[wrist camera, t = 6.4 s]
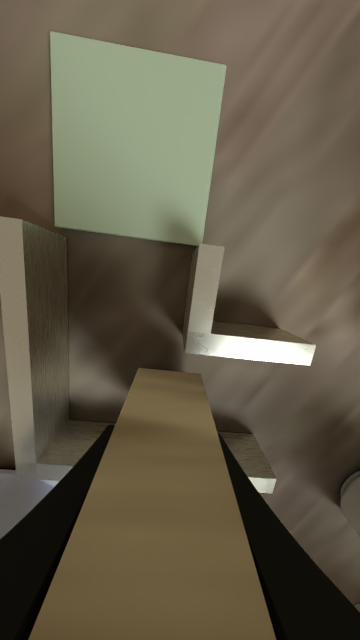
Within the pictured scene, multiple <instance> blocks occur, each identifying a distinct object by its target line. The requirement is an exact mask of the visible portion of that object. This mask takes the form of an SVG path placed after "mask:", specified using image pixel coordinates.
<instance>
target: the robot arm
mask: <svg viewBox="0 0 360 640" xmlns="http://www.w3.org/2000/svg"><path fill="white" fill-rule="evenodd" d="M114 427H115V425H110V424H109V425H108V426H107V427H106V428H105V429H104V431H103V432H102V433H101V434H100V436H99V437H98V438H97V439H96V441H95V442H94V443H93V444H92V446H91V447H90V448H89V449H88V450H87V452H86V453H85V454H84V455H83V456H82V457H81V458H80V459H79V461H78V462H77V463H76V464H75V465H74V466H73V467H72V469H71V470H70V471H69V472H68V473H67V474H66V475H65V476H64V477H63V478H62V479H61V480H60V481H53V480H36V479H18V478H17V477H16V470H6V469H0V640H28V639H29V637H30V634H31V632H32V629H33V627H34V625H35V622H36V620H37V617H38V615H39V612H40V610H41V607H42V605H43V602H44V600H45V597H46V595H47V592H48V590H49V587H50V585H51V583H52V580H53V578H54V575H55V573H56V570H57V568H58V565H59V563H60V560H61V558H62V555H63V553H64V550H65V548H66V546H67V543H68V541H69V538H70V536H71V533H72V531H73V528H74V526H75V523H76V521H77V518H78V516H79V513H80V511H81V509H82V506H83V504H84V501H85V499H86V496H87V494H88V491H89V489H90V486H91V484H92V481H93V479H94V476H95V474H96V471H97V469H98V467H99V464H100V462H101V459H102V457H103V454H104V452H105V449H106V447H107V444H108V442H109V439H110V437H111V434H112V432H113V430H114ZM217 434H218V437H219V441H220V444H221V448H222V451H223V455H224V458H225V462H226V465H227V469H228V472H229V476H230V479H231V483H232V486H233V490H234V493H235V497H236V500H237V504H238V507H239V511H240V514H241V518H242V521H243V525H244V528H245V532H246V536H247V539H248V543H249V546H250V550H251V553H252V557H253V560H254V564H255V567H256V571H257V574H258V578H259V581H260V585H261V588H262V592H263V595H264V599H265V602H266V606H267V609H268V613H269V616H270V620H271V623H272V627H273V630H274V634H275V637H276V640H360V612H359V611H358V610H357V609H356V608H355V607H354V606H353V605H352V603H351V602H350V601H349V600H348V599H347V598H346V597H345V596H344V595H343V594H342V592H341V591H340V590H339V589H338V588H337V587H336V586H335V585H334V584H333V583H332V581H331V580H330V579H329V578H328V577H327V576H326V575H325V574H324V573H323V572H322V570H321V569H320V568H319V567H318V566H317V565H316V564H315V563H314V561H313V560H312V559H311V558H310V557H309V556H308V554H307V553H306V552H305V551H304V550H303V549H302V547H301V546H300V545H299V544H298V543H297V541H296V540H295V539H294V538H293V536H292V535H291V534H290V533H289V532H288V530H287V529H286V528H285V527H284V525H283V524H282V523H281V522H280V520H279V519H278V518H277V516H276V515H275V514H274V512H273V511H272V510H271V509H270V507H269V506H268V504H267V503H266V502H265V500H264V499H263V498H262V496H261V495H260V494H259V492H258V491H257V489H256V488H255V487H254V485H253V484H252V482H251V481H250V479H249V478H248V476H247V475H246V473H245V472H244V471H243V469H242V468H241V466H240V464H239V463H238V461H237V460H236V458H235V457H234V455H233V454H232V452H231V450H230V449H229V447H228V446H227V444H226V442H225V441H224V439H223V437H222V436H221V434H220V433H217Z"/></svg>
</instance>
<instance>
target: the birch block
mask: <svg viewBox="0 0 360 640" xmlns="http://www.w3.org/2000/svg"><path fill="white" fill-rule="evenodd" d="M28 640H276V637H275V634H274V630H273V627H272V623H271V620H270V616H269V613H268V609H267V606H266V602H265V599H264V595H263V592H262V588H261V585H260V581H259V578H258V574H257V571H256V567H255V564H254V560H253V557H252V553H251V550H250V546H249V543H248V539H247V536H246V532H245V528H244V525H243V521H242V518H241V514H240V511H239V507H238V504H237V500H236V497H235V493H234V490H233V486H232V483H231V479H230V476H229V472H228V469H227V465H226V462H225V458H224V455H223V451H222V448H221V444H220V441H219V437H218V434H217V430H216V427H215V423H214V420H213V416H212V413H211V409H210V406H209V402H208V399H207V395H206V391H205V388H204V384H203V381H202V377H201V374H196V373H186V372H176V371H166V370H156V369H145V368H138V370H137V373H136V375H135V378H134V380H133V383H132V385H131V388H130V390H129V393H128V395H127V397H126V400H125V402H124V405H123V407H122V410H121V412H120V415H119V417H118V420H117V422H116V425H115V427H114V430H113V432H112V434H111V437H110V439H109V442H108V444H107V447H106V449H105V452H104V454H103V457H102V459H101V462H100V464H99V467H98V469H97V471H96V474H95V476H94V479H93V481H92V484H91V486H90V489H89V491H88V494H87V496H86V499H85V501H84V504H83V506H82V509H81V511H80V513H79V516H78V518H77V521H76V523H75V526H74V528H73V531H72V533H71V536H70V538H69V541H68V543H67V546H66V548H65V550H64V553H63V555H62V558H61V560H60V563H59V565H58V568H57V570H56V573H55V575H54V578H53V580H52V583H51V585H50V587H49V590H48V592H47V595H46V597H45V600H44V602H43V605H42V607H41V610H40V612H39V615H38V617H37V620H36V622H35V625H34V627H33V629H32V632H31V634H30V637H29V639H28Z"/></svg>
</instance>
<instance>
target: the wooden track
mask: <svg viewBox="0 0 360 640" xmlns="http://www.w3.org/2000/svg"><path fill="white" fill-rule="evenodd" d="M224 248H225V247H222V246H214V245H207V244H199V245H198V246H197V248H196V249H195V251H194V252H193V254H192V260H191V268H190V276H189V284H188V291H187V299H186V307H185V315H184V323H183V331H182V337H183V344H184V351H185V353H190V354H200V355H210V356H220V357H230V358H240V359H250V360H260V361H270V362H279V363H289V364H299V365H309V366H310V364H311V361H312V357H313V354H314V351H315V347H316V345H315V344H312V343H310V342H308V341H306V340H304V339H302V338H299V337H297V336H295V335H293V334H291V333H288V332H286V331H284V330H282V329H280V328H272V327H263V326H254V325H245V324H236V323H227V322H218V321H213V315H214V309H215V303H216V297H217V291H218V285H219V278H220V272H221V266H222V260H223V254H224ZM0 297H1V308H2V319H3V331H4V342H5V353H6V364H7V376H8V387H9V398H10V409H11V421H12V432H13V443H14V454H15V466H16V477H17V478H18V479H36V480H53V481H60V480H61V479H62V478H63V477H64V476H65V475H66V474H67V473H68V472H69V471H70V470H71V469H72V467H73V466H74V465H75V464H76V463H77V462H78V461H79V459H80V458H81V457H82V456H83V455H84V454H85V453H86V452H87V450H88V449H89V448H90V447H91V446H92V444H93V443H94V442H95V441H96V439H97V438H98V437H99V436H100V434H101V433H102V432H103V431H104V429H105V428H106V427H107V426H108V425H109V424H110V425H116V423H103V422H90V421H77V420H69V359H68V265H67V237H65V236H62V235H60V234H57V233H55V232H52V231H50V230H47V229H45V228H42V227H40V226H37V225H35V224H32V223H30V222H27V221H25V220H22V219H15V218H8V217H1V216H0ZM217 433H220V434H221V436H222V437H223V439H224V441H225V442H226V444H227V446H228V447H229V449H230V450H231V452H232V454H233V455H234V457H235V458H236V460H237V461H238V463H239V464H240V466H241V468H242V469H243V471H244V472H245V473H246V475H247V476H248V478H249V479H250V481H251V482H252V484H253V485H254V487H255V488H256V489H257V491H258V492H259V493H273V490H274V486H275V483H276V480H277V479H276V477H275V475H274V473H273V471H272V469H271V467H270V465H269V463H268V461H267V459H266V457H265V456H264V454H263V452H262V450H261V448H260V446H259V444H258V442H257V440H256V438H255V436H254V434H245V433H232V432H219V431H217Z"/></svg>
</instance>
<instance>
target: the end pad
mask: <svg viewBox="0 0 360 640" xmlns="http://www.w3.org/2000/svg"><path fill="white" fill-rule="evenodd" d="M50 49H51V91H52V132H53V174H54V216H55V226H56V227H58V228H64V229H71V230H78V231H86V232H93V233H101V234H108V235H116V236H123V237H130V238H138V239H145V240H153V241H160V242H168V243H175V244H182V245H190V246H198V245H199V244H202V241H203V233H204V226H205V219H206V212H207V204H208V197H209V190H210V182H211V175H212V168H213V160H214V153H215V146H216V139H217V131H218V124H219V117H220V109H221V102H222V95H223V88H224V80H225V73H226V66H227V65H222V64H217V63H212V62H207V61H202V60H197V59H191V58H186V57H181V56H176V55H171V54H165V53H160V52H155V51H150V50H145V49H140V48H134V47H129V46H124V45H119V44H114V43H109V42H103V41H98V40H93V39H88V38H83V37H77V36H72V35H67V34H62V33H57V32H52V31H50Z"/></svg>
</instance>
